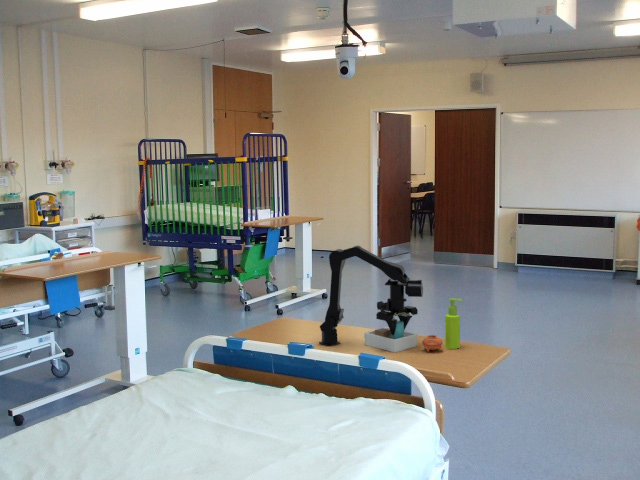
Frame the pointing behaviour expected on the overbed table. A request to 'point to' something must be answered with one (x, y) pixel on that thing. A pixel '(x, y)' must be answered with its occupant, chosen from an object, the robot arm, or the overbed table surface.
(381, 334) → the walnut cube
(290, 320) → the overbed table surface
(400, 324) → the teal cylinder
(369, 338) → the tote
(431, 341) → the pot
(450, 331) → the soap dispenser
